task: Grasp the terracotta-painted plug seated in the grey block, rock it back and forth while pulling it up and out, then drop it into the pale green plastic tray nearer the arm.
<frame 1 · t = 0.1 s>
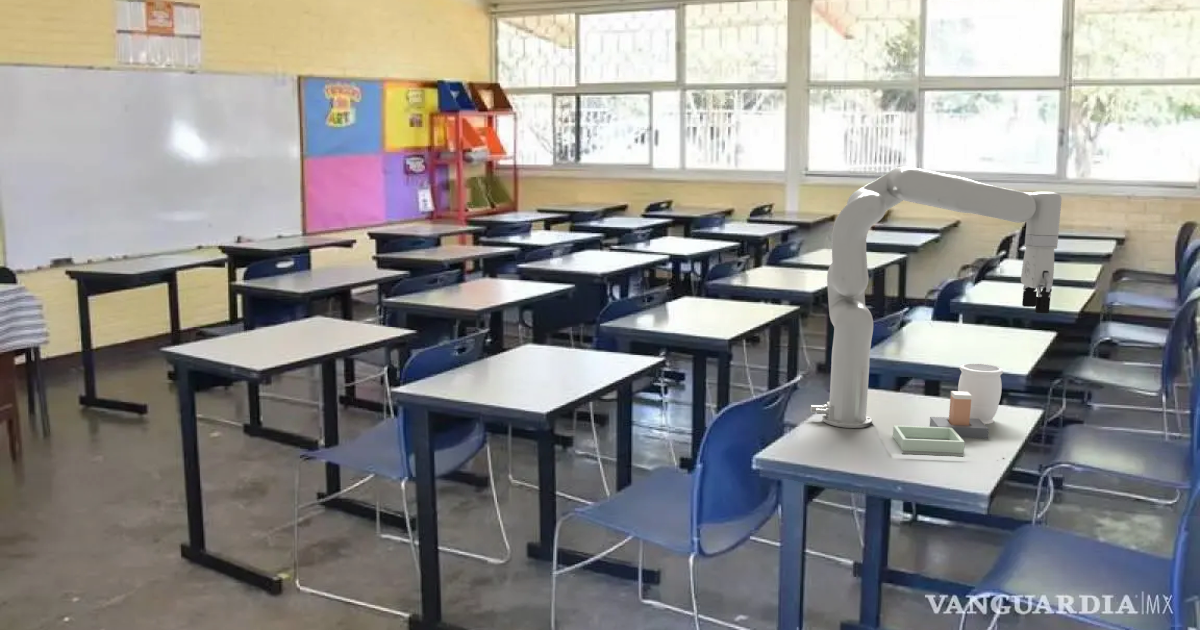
hand: (1035, 309, 260), 31 cm above the table, fingers open, 9 cm apart
grey block: (957, 436, 258), on the table
plug: (958, 432, 258), point 1 cm above the table, touching grey block
tray: (927, 447, 248), on the table
jar: (976, 424, 270), on the table
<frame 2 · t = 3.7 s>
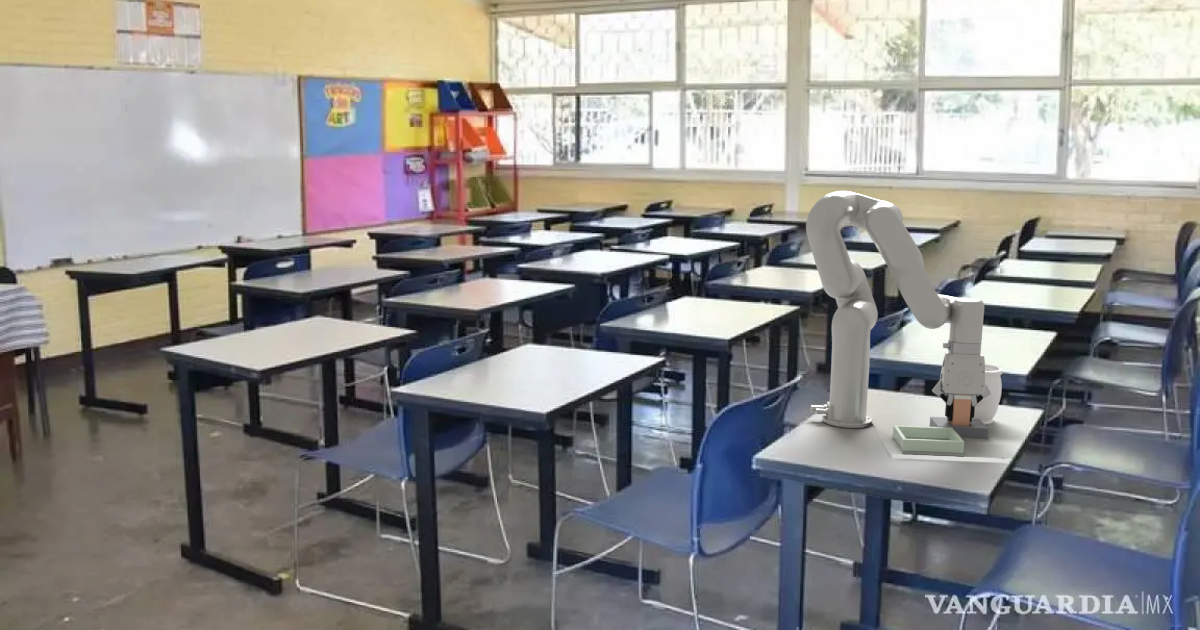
hand: (959, 419, 257), 4 cm above the table, fingers closed on plug, 4 cm apart
plug: (958, 432, 258), point 1 cm above the table, touching gripper, grey block
everything else where it was.
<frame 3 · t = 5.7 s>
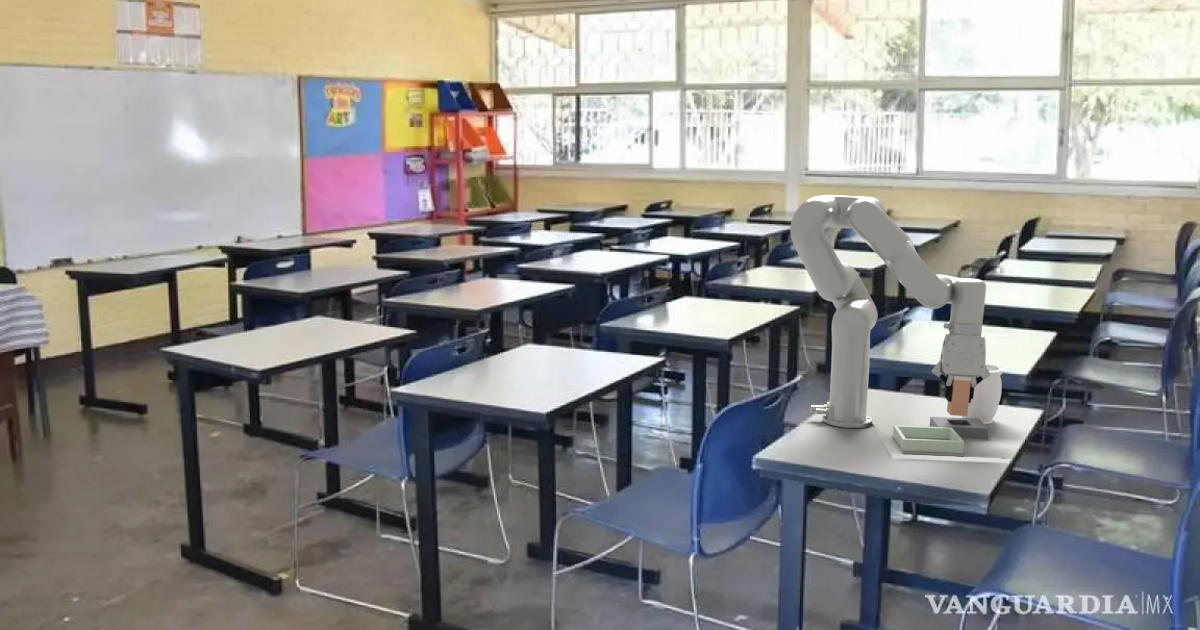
hand: (958, 400, 257), 9 cm above the table, fingers closed on plug, 4 cm apart
plug: (956, 413, 257), point 6 cm above the table, touching gripper
everything else where it was.
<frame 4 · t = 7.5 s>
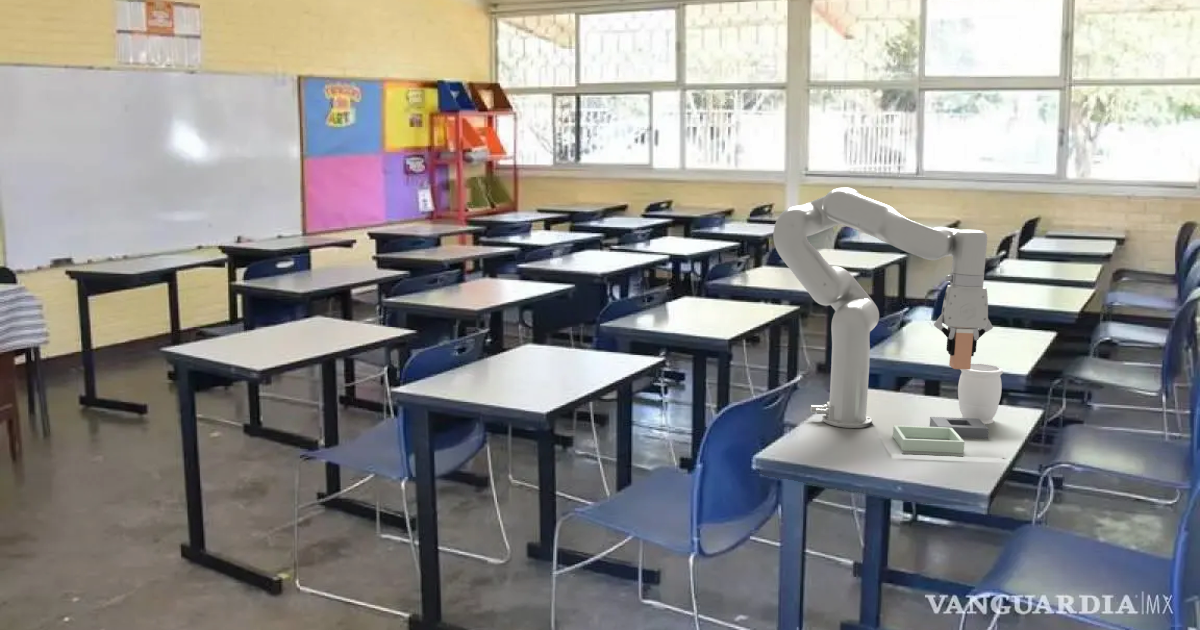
hand: (960, 354, 254), 21 cm above the table, fingers closed on plug, 4 cm apart
plug: (959, 367, 254), point 18 cm above the table, touching gripper
everything else where it was.
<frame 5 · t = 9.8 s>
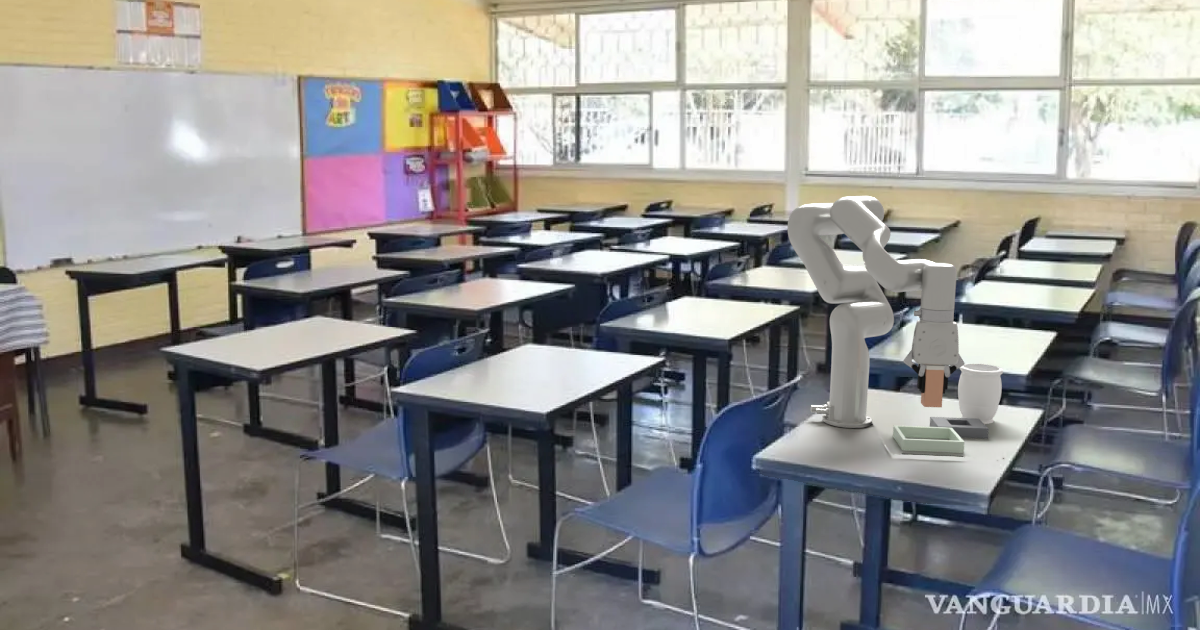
hand: (932, 391, 245), 14 cm above the table, fingers closed on plug, 4 cm apart
plug: (931, 405, 246), point 11 cm above the table, touching gripper
everything else where it was.
when the fingers open (7 cm above the table, at t = 11.4 s): plug drops 3 cm, resting on tray.
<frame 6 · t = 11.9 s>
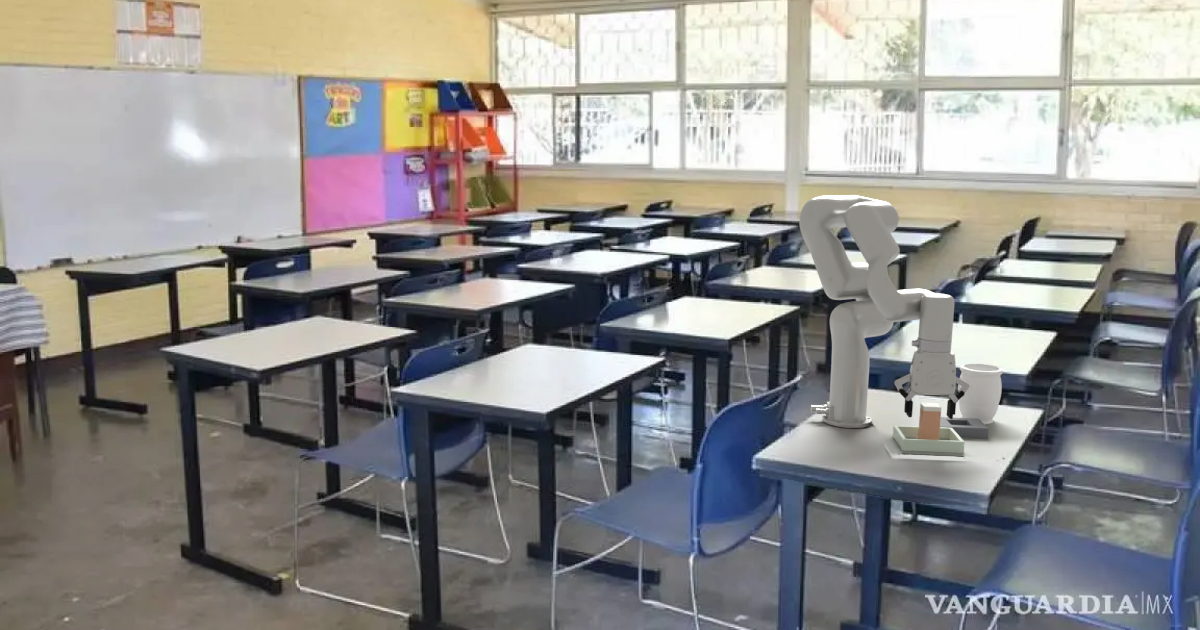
hand: (929, 416, 246), 8 cm above the table, fingers open, 9 cm apart
plug: (927, 445, 248), point 1 cm above the table, touching tray
everything else where it was.
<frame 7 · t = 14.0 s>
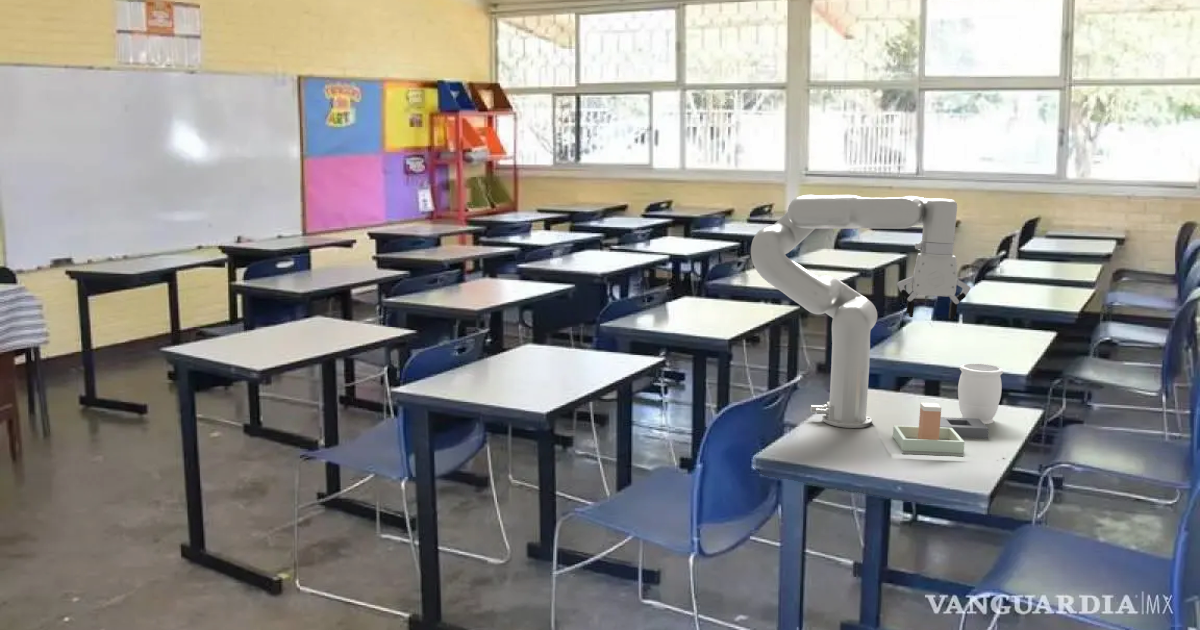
hand: (930, 317, 257), 29 cm above the table, fingers open, 9 cm apart
nothing on the table moved.
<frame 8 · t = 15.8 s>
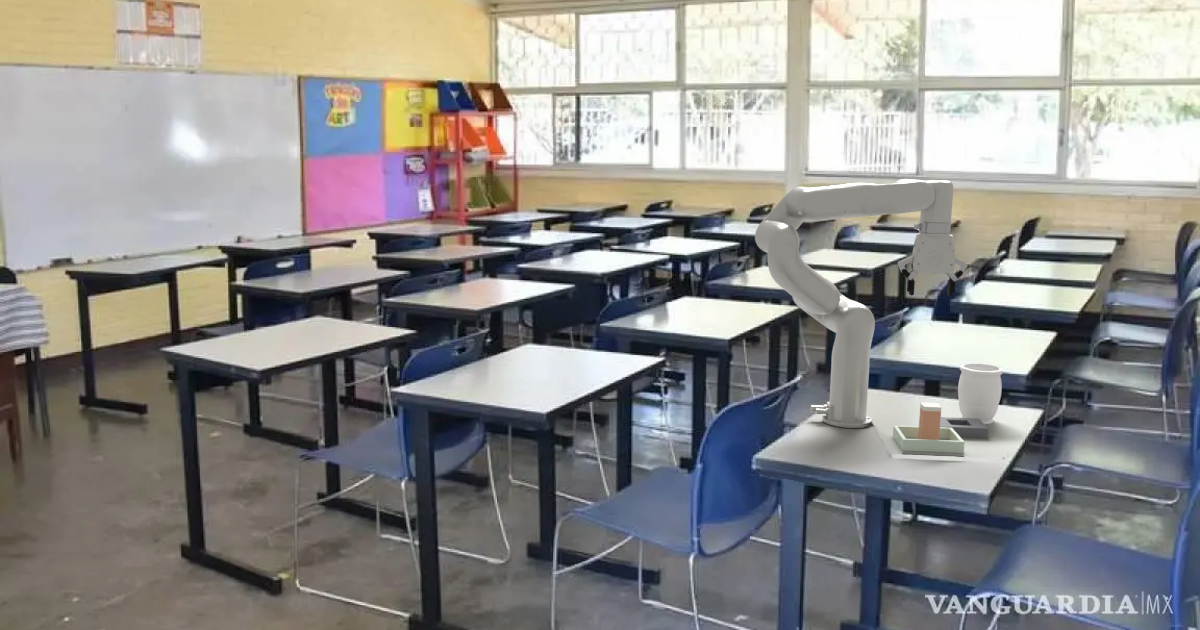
hand: (930, 295, 267), 33 cm above the table, fingers open, 9 cm apart
nothing on the table moved.
at the end: plug inside the target area on the tray (0.2 cm from its centre), point 0.6 cm above the tray's base; plug touching tray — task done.
